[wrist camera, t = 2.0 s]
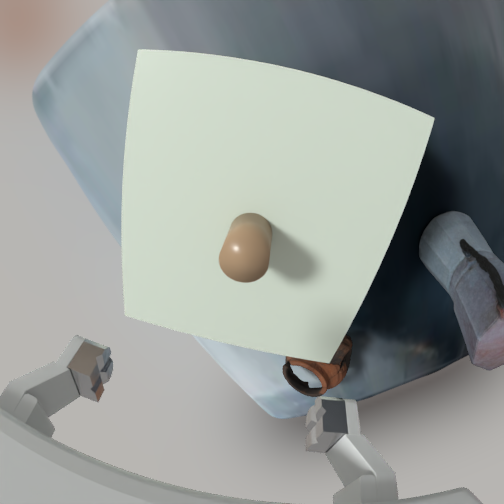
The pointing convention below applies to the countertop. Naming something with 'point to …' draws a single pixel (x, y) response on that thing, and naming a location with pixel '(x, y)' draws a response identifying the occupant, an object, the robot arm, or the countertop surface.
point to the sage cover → (259, 199)
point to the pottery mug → (321, 370)
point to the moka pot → (468, 283)
